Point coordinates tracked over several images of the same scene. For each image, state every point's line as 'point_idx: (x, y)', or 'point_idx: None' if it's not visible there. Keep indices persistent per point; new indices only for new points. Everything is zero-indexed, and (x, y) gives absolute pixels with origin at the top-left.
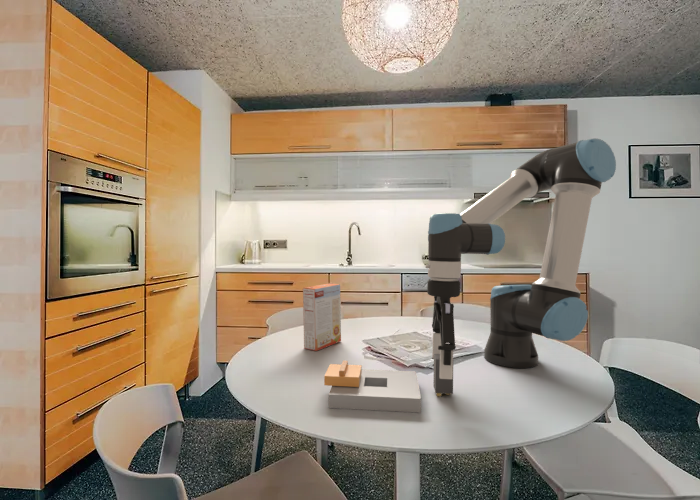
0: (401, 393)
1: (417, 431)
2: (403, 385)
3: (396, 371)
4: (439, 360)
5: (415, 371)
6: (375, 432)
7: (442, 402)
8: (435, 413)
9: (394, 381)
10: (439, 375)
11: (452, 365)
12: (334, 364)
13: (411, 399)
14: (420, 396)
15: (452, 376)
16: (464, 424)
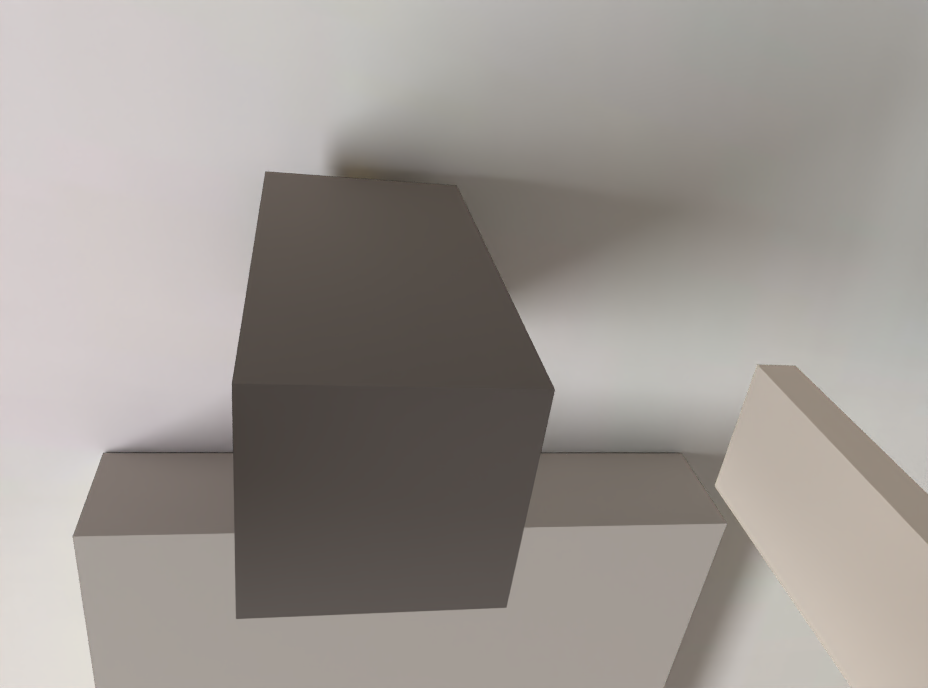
0: (616, 634)
1: None
2: (464, 626)
3: (118, 681)
4: (513, 555)
5: (78, 540)
6: None
7: (534, 284)
8: (708, 365)
9: (376, 681)
10: (727, 501)
11: (901, 477)
12: None
13: (703, 572)
14: (688, 525)
15: (815, 386)
16: (908, 196)
